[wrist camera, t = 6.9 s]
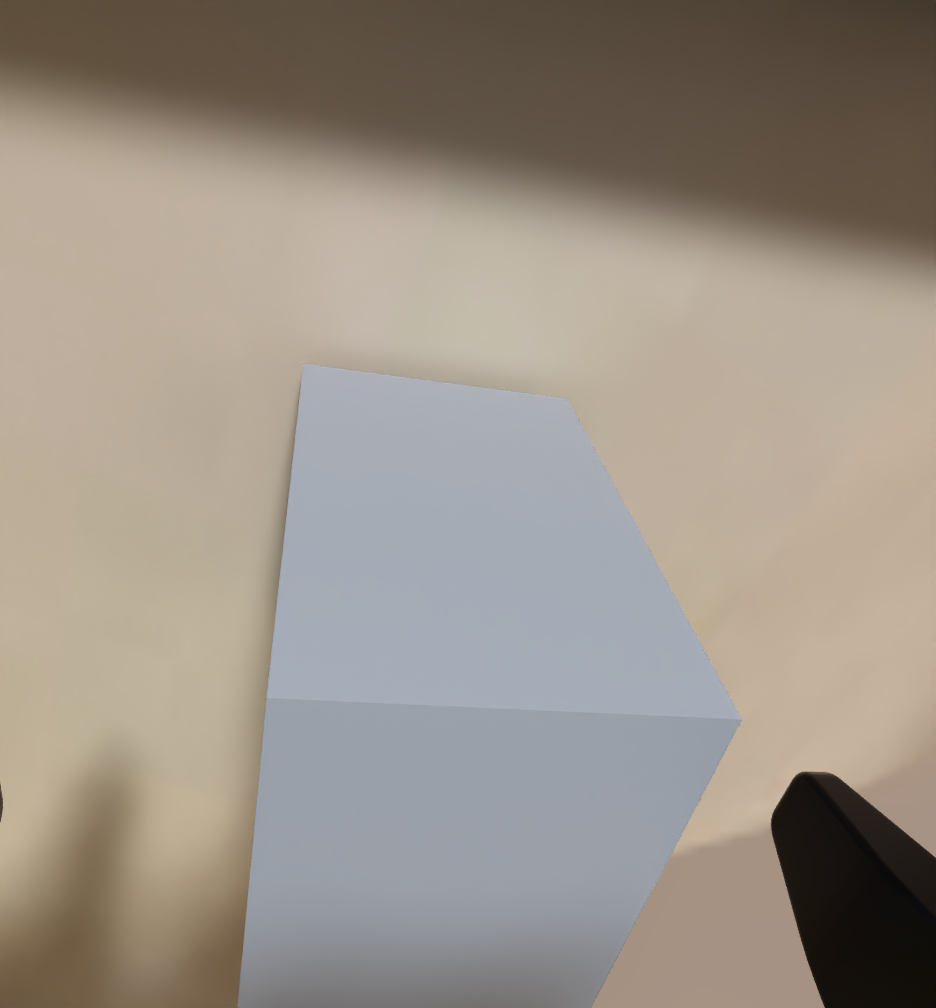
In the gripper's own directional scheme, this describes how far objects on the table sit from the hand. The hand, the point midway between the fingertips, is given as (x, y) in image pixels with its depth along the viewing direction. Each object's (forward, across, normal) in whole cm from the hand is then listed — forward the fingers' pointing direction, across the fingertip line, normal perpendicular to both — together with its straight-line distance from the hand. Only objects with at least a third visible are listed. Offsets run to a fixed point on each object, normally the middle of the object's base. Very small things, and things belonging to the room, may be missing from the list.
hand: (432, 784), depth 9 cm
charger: (+5, 0, 0) cm, 5 cm away
